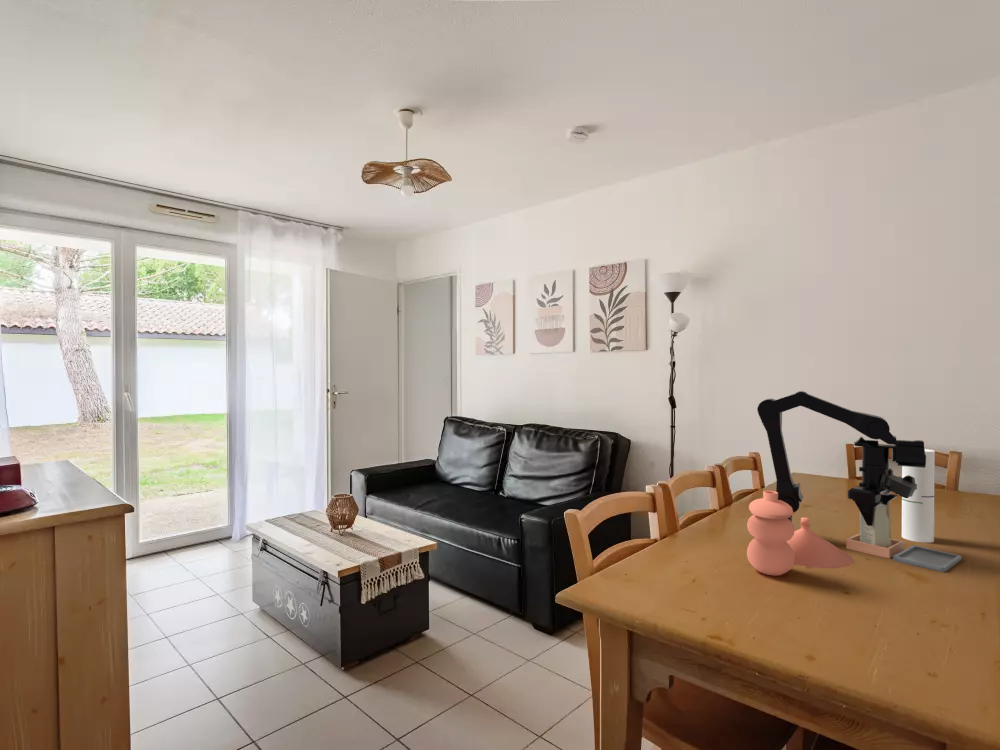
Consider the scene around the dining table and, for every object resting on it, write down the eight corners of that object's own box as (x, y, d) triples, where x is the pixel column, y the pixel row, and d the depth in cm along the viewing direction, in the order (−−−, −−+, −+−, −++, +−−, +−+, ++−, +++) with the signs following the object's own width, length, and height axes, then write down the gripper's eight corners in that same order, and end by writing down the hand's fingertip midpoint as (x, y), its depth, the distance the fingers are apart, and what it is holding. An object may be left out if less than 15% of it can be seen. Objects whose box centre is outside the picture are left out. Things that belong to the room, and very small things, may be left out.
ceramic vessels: (781, 535, 153) (781, 469, 152) (866, 555, 136) (867, 482, 136) (716, 563, 131) (717, 487, 130) (809, 592, 114) (810, 504, 114)
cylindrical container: (939, 543, 145) (940, 452, 145) (910, 542, 147) (910, 451, 146) (924, 535, 152) (925, 448, 152) (896, 534, 154) (897, 447, 153)
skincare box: (891, 554, 137) (892, 506, 137) (874, 554, 137) (875, 506, 137) (874, 545, 144) (875, 500, 143) (858, 545, 144) (858, 500, 144)
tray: (943, 573, 124) (943, 568, 124) (893, 561, 132) (893, 556, 132) (962, 561, 132) (962, 555, 132) (913, 549, 140) (913, 545, 140)
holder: (889, 559, 134) (889, 549, 134) (846, 548, 142) (846, 539, 142) (903, 551, 139) (903, 541, 139) (861, 541, 147) (861, 532, 147)
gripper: (898, 473, 128) (898, 537, 128) (925, 464, 139) (925, 524, 139) (847, 466, 137) (846, 526, 137) (875, 458, 148) (875, 514, 148)
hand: (875, 523), depth 140 cm, fingers closed on skincare box, 7 cm apart
